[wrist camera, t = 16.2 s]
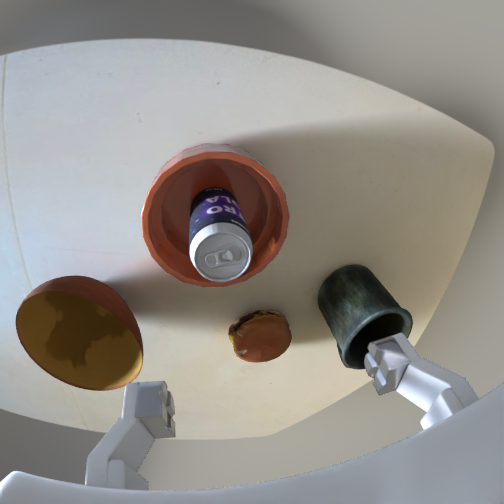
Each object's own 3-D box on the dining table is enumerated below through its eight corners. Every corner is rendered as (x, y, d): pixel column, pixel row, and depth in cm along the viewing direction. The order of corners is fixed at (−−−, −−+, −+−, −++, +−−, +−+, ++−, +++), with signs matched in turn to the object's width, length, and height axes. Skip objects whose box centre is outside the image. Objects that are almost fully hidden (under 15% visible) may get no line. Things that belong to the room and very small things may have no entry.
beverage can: (242, 221, 37) (262, 275, 27) (198, 234, 37) (201, 293, 27) (231, 179, 35) (247, 218, 24) (184, 192, 34) (179, 238, 24)
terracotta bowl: (202, 116, 31) (203, 119, 26) (299, 194, 38) (316, 212, 32) (126, 219, 35) (116, 241, 30) (223, 279, 42) (228, 307, 37)
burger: (297, 329, 49) (305, 349, 45) (250, 355, 50) (255, 376, 46) (268, 293, 44) (275, 313, 40) (216, 323, 46) (218, 345, 42)
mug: (383, 260, 45) (425, 306, 35) (356, 329, 52) (385, 377, 42) (323, 259, 43) (359, 312, 33) (302, 333, 50) (325, 389, 40)
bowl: (129, 236, 36) (112, 281, 28) (163, 336, 45) (160, 387, 37) (24, 258, 34) (-7, 299, 26) (69, 345, 43) (55, 391, 35)
